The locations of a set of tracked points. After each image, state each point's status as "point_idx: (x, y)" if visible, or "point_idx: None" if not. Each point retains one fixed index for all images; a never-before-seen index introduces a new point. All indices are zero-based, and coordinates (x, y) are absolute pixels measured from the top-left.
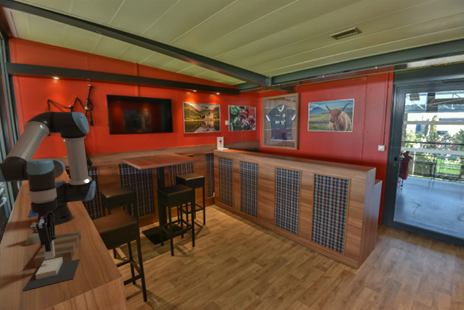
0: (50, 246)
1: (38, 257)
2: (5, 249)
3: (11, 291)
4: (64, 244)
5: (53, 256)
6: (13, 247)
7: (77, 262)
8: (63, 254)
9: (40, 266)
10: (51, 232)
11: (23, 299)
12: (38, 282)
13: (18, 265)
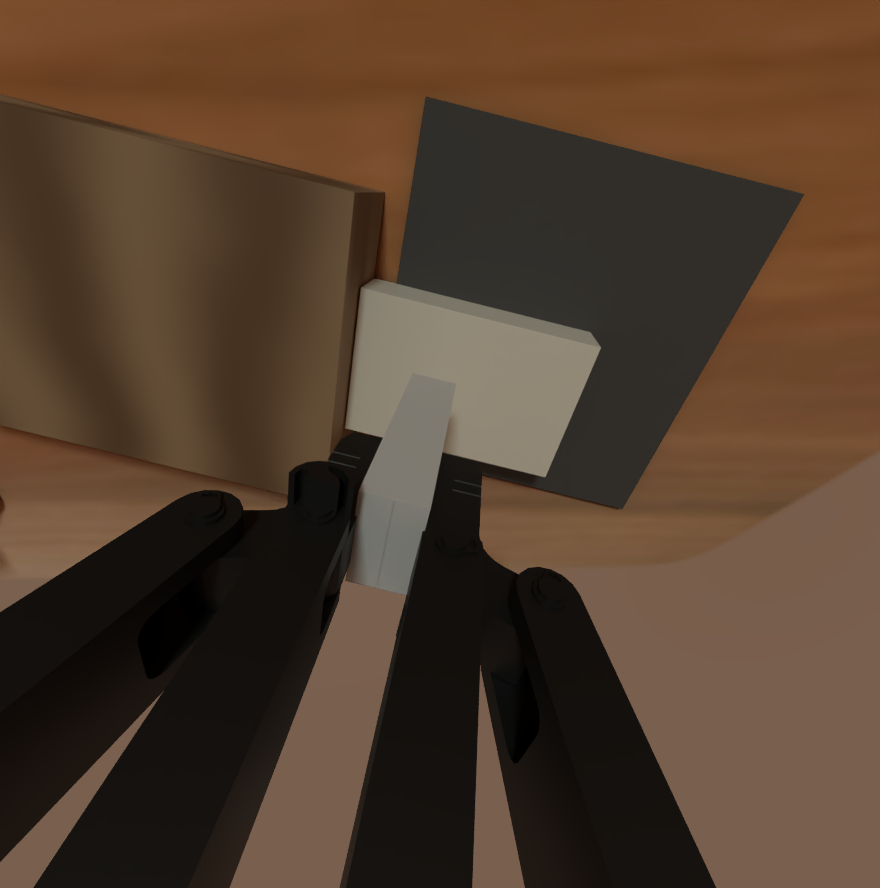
0: (440, 489)
1: None
2: (29, 574)
3: (563, 546)
4: (124, 266)
5: (453, 392)
6: (9, 548)
7: (495, 131)
8: (353, 281)
9: None
10: (288, 663)
11: (721, 502)
12: (596, 441)
13: None
